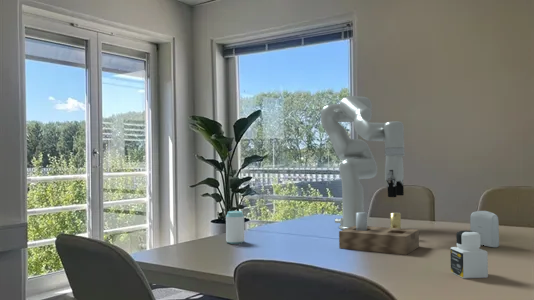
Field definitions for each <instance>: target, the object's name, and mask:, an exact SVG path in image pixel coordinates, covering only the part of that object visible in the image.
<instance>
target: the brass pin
mask: <svg viewBox="0 0 534 300" xmlns="http://www.w3.org/2000/svg"><path fill="white" fill-rule="evenodd" d="M401 218H402V213H401V212H390V213H389V219H390V220H389V221H390V222H389V223H390V225H389V226H390V227H389V228H401V229H402V219H401Z"/></svg>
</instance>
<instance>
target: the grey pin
mask: <svg viewBox="0 0 534 300" xmlns="http://www.w3.org/2000/svg"><path fill="white" fill-rule="evenodd" d="M367 226H368V212H365V211H364V212H357V213H356V230H360V231H367Z"/></svg>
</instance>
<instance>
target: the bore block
mask: <svg viewBox="0 0 534 300" xmlns="http://www.w3.org/2000/svg"><path fill="white" fill-rule="evenodd" d="M338 240H339V241H338V243H339V246H338V247H339V249H343V248H344V249H345V250H355V251H367V252H375V253H383V254H384V253H385V254H397V255H406V256H407V255H408V254H410V253H412V252H413V251H415V250H416V249H418V248H420V230H419V229H412V228H411V229H410V228H402V227H401V228H390V227H383V226H369V225H367V231H360V230H356V225H355V226H352V227H350V228H347V229H344V230H343V229H341V230H339V231H338Z"/></svg>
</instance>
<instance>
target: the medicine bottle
mask: <svg viewBox="0 0 534 300" xmlns="http://www.w3.org/2000/svg"><path fill="white" fill-rule="evenodd" d="M488 255H489V254H488V251H486V250H485V249H482V248H481V245H480V234H479V233H478V232H476V231H471V230H459V231H457V232H456V246H451V247H450V273H452V274H453V275H455V276H458V277H460V278H462V279H464V280H466V279H485V278H486V279H487V278H488V277H489V268H488V267H489V262H488V261H489V259H488Z"/></svg>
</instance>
